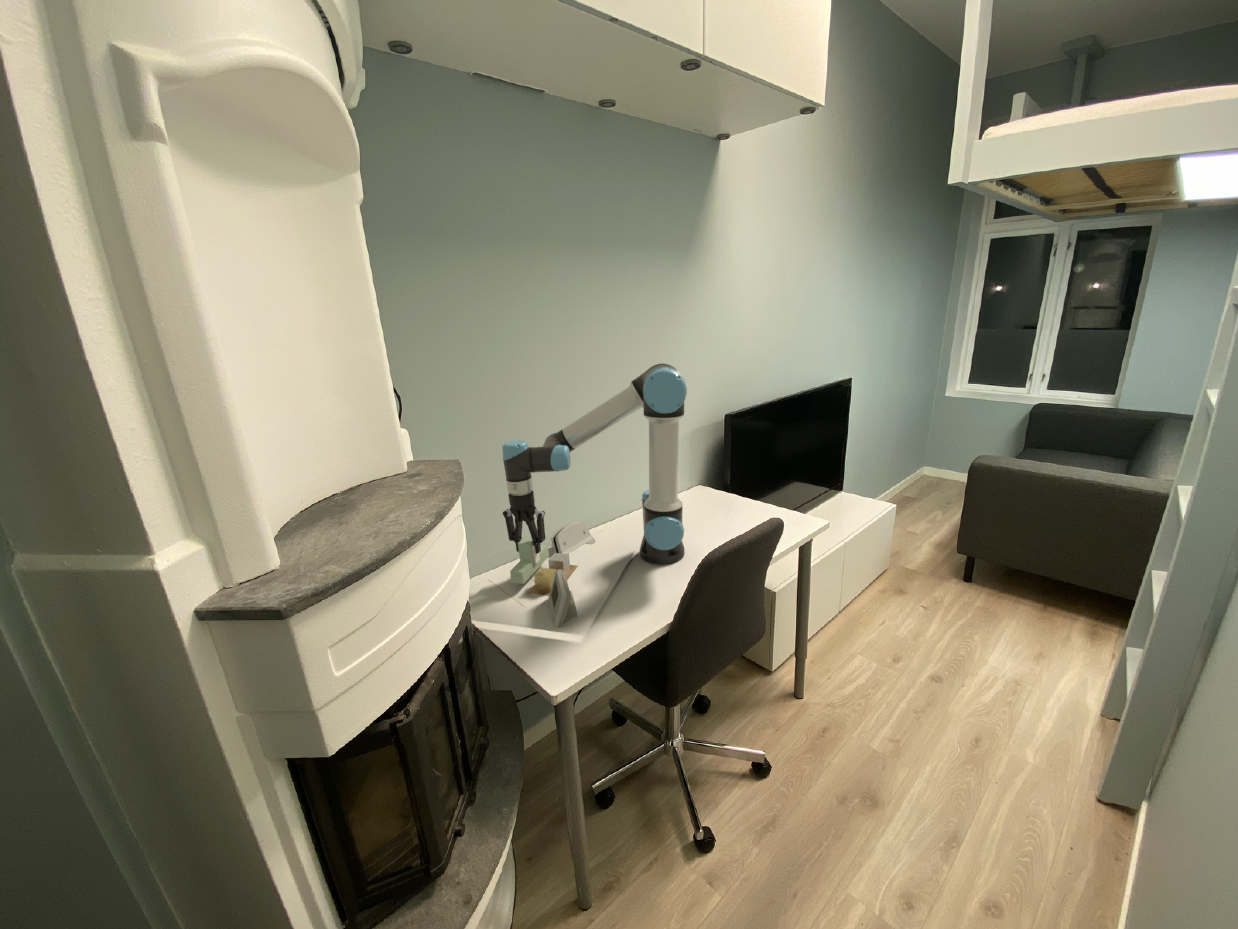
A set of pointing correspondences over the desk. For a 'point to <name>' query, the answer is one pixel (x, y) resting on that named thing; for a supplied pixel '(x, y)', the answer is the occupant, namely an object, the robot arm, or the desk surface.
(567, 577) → the deck
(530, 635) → the desk surface
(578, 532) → the white curved block
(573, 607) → the grey picture frame
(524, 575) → the stepped sage beam
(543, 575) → the mustard yellow cube
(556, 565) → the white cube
